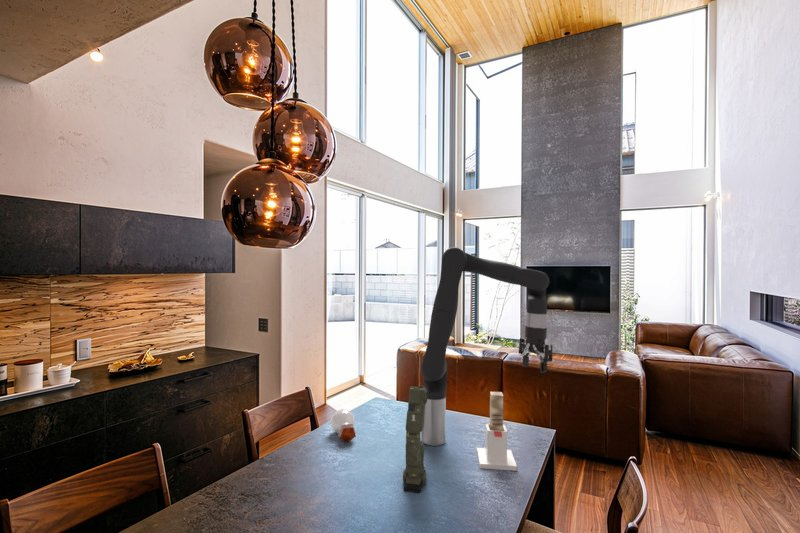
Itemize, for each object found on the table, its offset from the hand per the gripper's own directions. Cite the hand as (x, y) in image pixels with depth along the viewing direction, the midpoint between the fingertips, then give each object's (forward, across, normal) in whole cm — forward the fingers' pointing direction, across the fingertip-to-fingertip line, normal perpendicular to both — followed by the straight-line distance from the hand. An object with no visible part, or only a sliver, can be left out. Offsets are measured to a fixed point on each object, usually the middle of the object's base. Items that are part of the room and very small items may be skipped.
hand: (534, 369), depth 145 cm
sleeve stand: (+30, +1, -17) cm, 35 cm away
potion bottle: (+32, -41, -58) cm, 78 cm away
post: (+28, +1, -17) cm, 33 cm away
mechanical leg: (+31, +1, -48) cm, 58 cm away
